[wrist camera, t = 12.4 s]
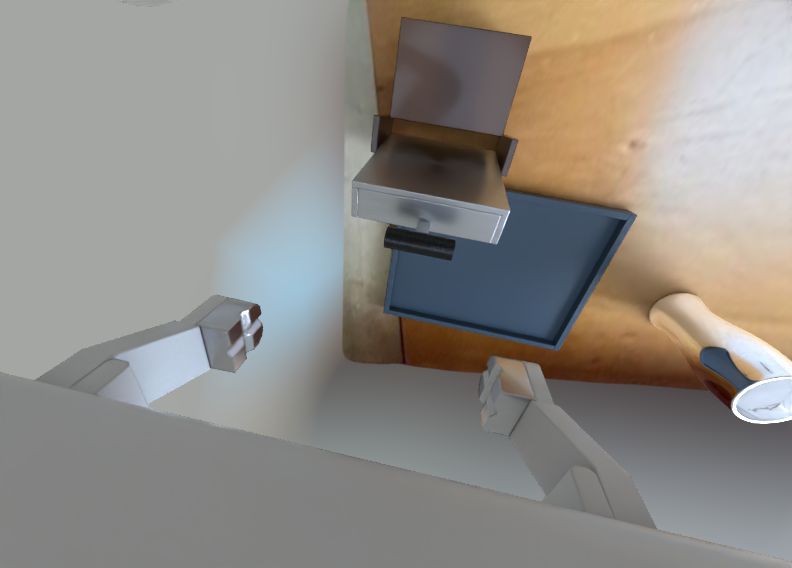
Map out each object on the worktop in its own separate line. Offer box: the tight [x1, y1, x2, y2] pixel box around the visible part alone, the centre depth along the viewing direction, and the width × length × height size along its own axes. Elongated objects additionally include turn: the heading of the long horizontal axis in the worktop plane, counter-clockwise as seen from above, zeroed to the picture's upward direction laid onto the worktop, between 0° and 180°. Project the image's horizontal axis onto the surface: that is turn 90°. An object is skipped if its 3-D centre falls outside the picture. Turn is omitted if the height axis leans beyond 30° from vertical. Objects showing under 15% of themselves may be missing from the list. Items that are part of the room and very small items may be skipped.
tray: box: [383, 188, 637, 351], centre depth 41 cm, size 28×22×2 cm
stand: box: [371, 17, 532, 176], centre depth 30 cm, size 14×11×8 cm
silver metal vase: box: [649, 293, 792, 423], centre depth 34 cm, size 7×7×15 cm
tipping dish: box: [352, 133, 510, 261], centre depth 27 cm, size 12×19×3 cm
